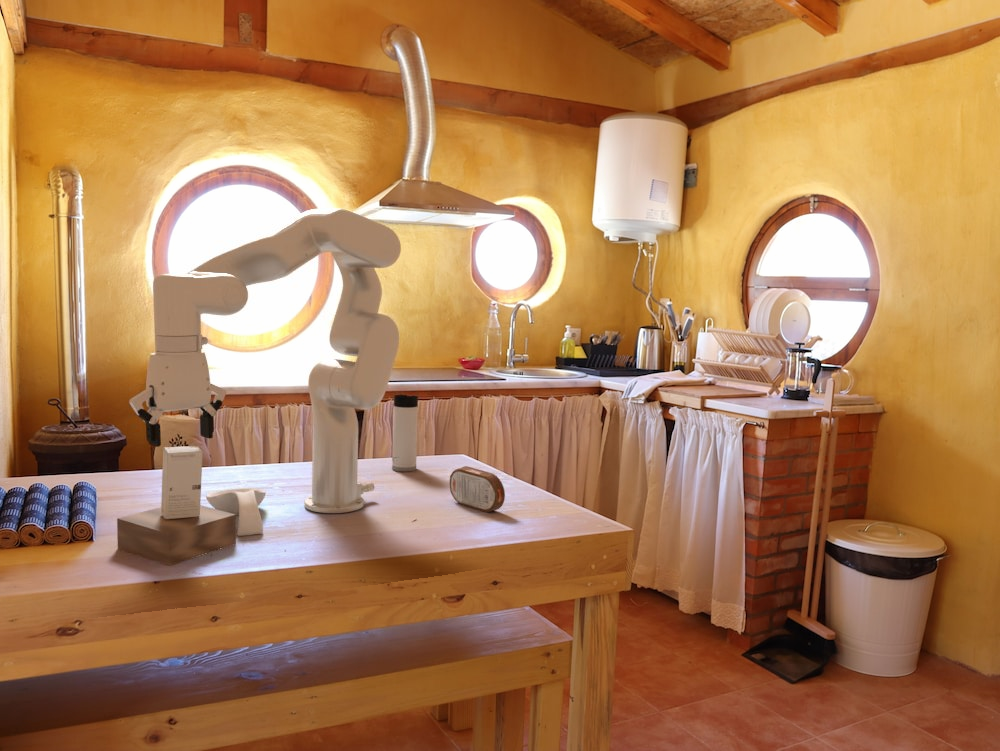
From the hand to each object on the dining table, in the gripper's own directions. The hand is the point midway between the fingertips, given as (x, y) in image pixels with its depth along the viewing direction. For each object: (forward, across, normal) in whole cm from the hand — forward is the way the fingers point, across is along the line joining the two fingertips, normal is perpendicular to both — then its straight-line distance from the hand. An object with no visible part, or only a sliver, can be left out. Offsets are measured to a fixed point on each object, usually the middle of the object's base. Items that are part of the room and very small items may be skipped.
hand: (181, 441), depth 141 cm
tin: (+21, -57, +19) cm, 64 cm away
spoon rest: (+20, -16, -8) cm, 27 cm away
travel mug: (+21, -69, -17) cm, 74 cm away
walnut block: (+20, +1, 0) cm, 20 cm away
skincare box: (+14, 0, 0) cm, 14 cm away
